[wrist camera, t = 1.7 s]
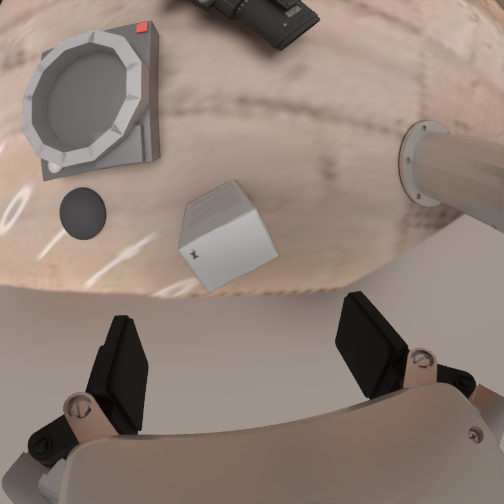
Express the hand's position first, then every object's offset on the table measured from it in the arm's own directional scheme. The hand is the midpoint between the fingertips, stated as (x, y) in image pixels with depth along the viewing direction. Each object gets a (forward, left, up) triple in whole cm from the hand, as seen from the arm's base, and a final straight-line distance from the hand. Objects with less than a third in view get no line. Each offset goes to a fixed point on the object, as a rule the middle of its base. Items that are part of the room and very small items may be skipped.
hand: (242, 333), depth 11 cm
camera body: (+12, -13, -20) cm, 27 cm away
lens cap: (+16, -1, -20) cm, 26 cm away
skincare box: (0, 0, -20) cm, 20 cm away
